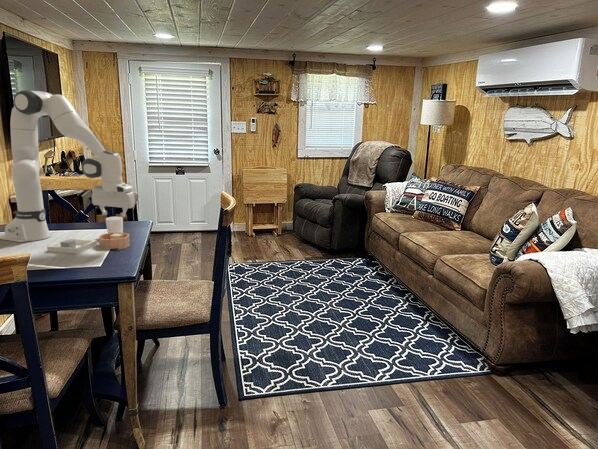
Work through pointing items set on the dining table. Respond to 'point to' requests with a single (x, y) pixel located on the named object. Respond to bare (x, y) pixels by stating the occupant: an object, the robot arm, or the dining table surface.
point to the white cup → (114, 224)
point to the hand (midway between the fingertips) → (113, 215)
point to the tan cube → (116, 236)
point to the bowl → (114, 241)
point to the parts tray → (80, 247)
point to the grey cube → (68, 243)
